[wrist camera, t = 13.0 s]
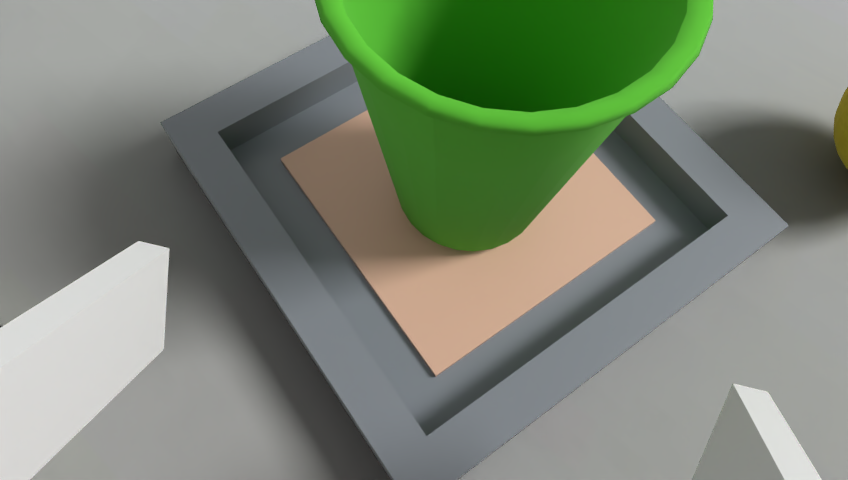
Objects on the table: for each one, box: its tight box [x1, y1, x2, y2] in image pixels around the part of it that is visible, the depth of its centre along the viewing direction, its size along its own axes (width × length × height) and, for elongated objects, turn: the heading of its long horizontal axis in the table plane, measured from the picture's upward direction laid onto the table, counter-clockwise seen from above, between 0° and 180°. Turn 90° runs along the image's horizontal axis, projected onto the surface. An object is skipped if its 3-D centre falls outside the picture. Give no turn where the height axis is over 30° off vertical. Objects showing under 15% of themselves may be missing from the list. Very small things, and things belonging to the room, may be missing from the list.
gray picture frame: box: [161, 36, 789, 480], centre depth 25 cm, size 16×16×2 cm
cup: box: [315, 0, 713, 251], centre depth 20 cm, size 9×9×11 cm
